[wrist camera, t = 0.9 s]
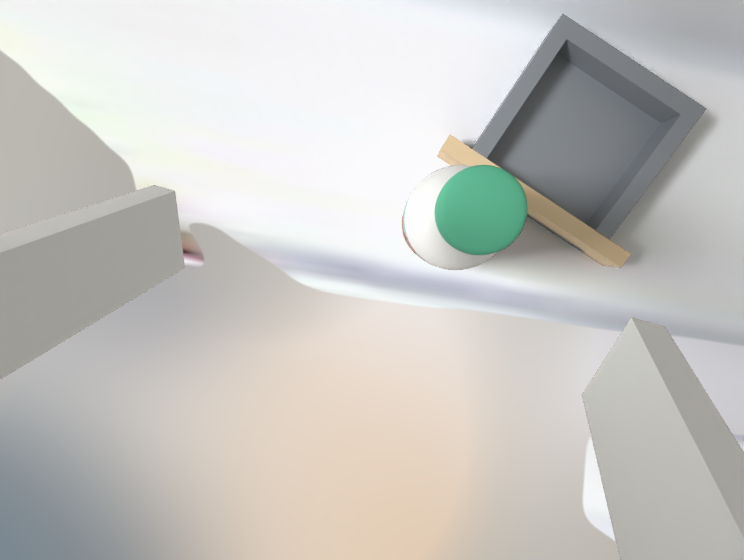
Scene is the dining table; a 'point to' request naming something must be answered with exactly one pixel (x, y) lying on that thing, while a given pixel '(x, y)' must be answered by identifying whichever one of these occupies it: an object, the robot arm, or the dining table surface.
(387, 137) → the dining table surface
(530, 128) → the tray
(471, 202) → the milk bottle
